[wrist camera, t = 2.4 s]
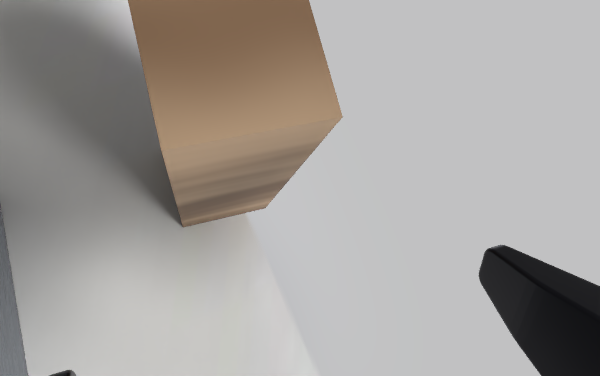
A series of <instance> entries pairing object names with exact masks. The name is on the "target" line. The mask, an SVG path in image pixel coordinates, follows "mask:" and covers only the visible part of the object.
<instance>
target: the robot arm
mask: <svg viewBox="0 0 600 376" xmlns="http://www.w3.org/2000/svg"><path fill="white" fill-rule="evenodd" d="M479 279H480V282H481V284H482V286H483V288H484V289H485V291H486V292H487V294H488V296H489V297H490V299H491V301H492V302H493V304H494V306H495V308H496V309H497V311H498V313H499V314H500V316H501V318H502V319H503V321H504V323H505V324H506V326H507V328H508V329H509V331H510V333H511V334H512V336H513V337H514V339H515V340H516V341H517V343H518V345H519V346H520V347H521V349H522V350H523V351H524V353H525V354H526V356H527V357H528V358H529V360H530V361H531V362H532V364H533V365H534V366H535V368H536V369H537V371H538V372H539V373H540V375H541V376H600V286H598V285H596V284H593V283H591V282H589V281H586V280H584V279H582V278H579V277H577V276H575V275H573V274H570V273H568V272H566V271H563V270H561V269H559V268H556V267H554V266H552V265H549V264H547V263H544V262H543V261H540V260H538V259H536V258H533V257H531V256H529V255H526V254H524V253H522V252H519V251H517V250H515V249H513V248H510V247H508V246H505V245H498V246H495V247H492V248H489V249H487V250H486V251H485V253H484V257H483V260H482V264H481V267H480V271H479ZM50 376H76V374H75V373H74V372H73V371H72V370H66V371H63V372H59V373H56V374H52V375H50Z"/></svg>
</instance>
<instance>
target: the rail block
mask: <svg viewBox="0 0 600 376" xmlns="http://www.w3.org/2000/svg"><path fill="white" fill-rule="evenodd" d="M0 376H28V373H27V367H26V360H25V354H24V348H23V342H22V336H21V329H20V323H19V317H18V311H17V304H16V298H15V292H14V286H13V280H12V273H11V267H10V261H9V255H8V249H7V242H6V236H5V230H4V224H3V218H2V211H1V205H0Z"/></svg>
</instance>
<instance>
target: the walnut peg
mask: <svg viewBox="0 0 600 376" xmlns="http://www.w3.org/2000/svg"><path fill="white" fill-rule="evenodd" d="M128 3H129V7H130V12H131V16H132V21H133V25H134V30H135V34H136V39H137V43H138V48H139V52H140V57H141V61H142V66H143V70H144V75H145V80H146V84H147V89H148V93H149V98H150V102H151V107H152V111H153V116H154V120H155V125H156V129H157V134H158V138H159V143H160V147H161V152H162V155H163V159H164V162H165V166H166V169H167V173H168V176H169V180H170V183H171V187H172V190H173V194H174V197H175V201H176V204H177V208H178V211H179V215H180V218H181V222H182V225H183V227H186V226H190V225H195V224H199V223H203V222H207V221H212V220H216V219H220V218H225V217H229V216H233V215H238V214H242V213H246V212H251V211H255V210H259V209H264V208H266V206H267V205H268V204H269V203H270V202H271V200H272V199H273V198H274V197H275V196H276V195H277V193H278V192H279V191H280V190H281V189H282V188H283V186H284V185H285V184H286V183H287V182H288V181H289V179H290V178H291V177H292V176H293V175H294V173H295V172H296V171H297V170H298V169H299V168H300V166H301V165H302V164H303V163H304V162H305V160H306V159H307V158H308V157H309V156H310V155H311V154H312V152H313V151H314V150H315V149H316V148H317V146H318V145H319V144H320V143H321V142H322V141H323V139H324V138H325V137H326V136H327V134H328V133H329V132H330V131H331V130H332V129H333V128H334V126H335V125H336V124H337V123H338V122H339V121H340V119H341V118H342V113H341V110H340V106H339V103H338V99H337V96H336V93H335V89H334V86H333V82H332V79H331V75H330V72H329V68H328V65H327V61H326V58H325V55H324V51H323V48H322V44H321V41H320V37H319V34H318V31H317V27H316V24H315V20H314V17H313V13H312V10H311V6H310V3H309V0H128Z"/></svg>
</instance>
